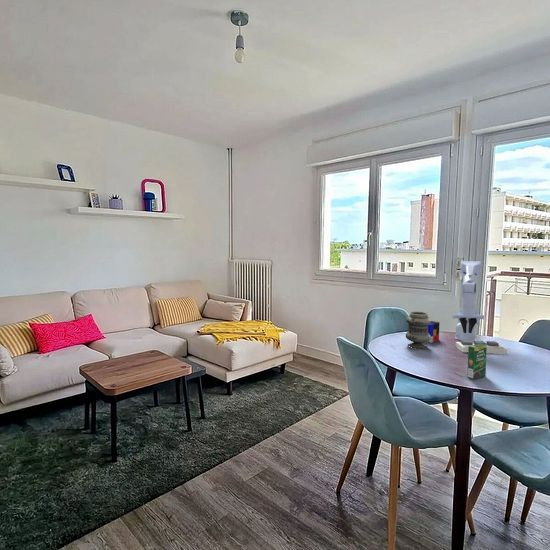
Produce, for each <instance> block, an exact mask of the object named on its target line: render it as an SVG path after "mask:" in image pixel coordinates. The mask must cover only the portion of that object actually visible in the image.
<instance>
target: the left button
mask: <svg viewBox="0 0 550 550" xmlns="http://www.w3.org/2000/svg"><path fill="white" fill-rule="evenodd" d="M460 342H461V344H462V345H473V343H474V342H471V341H470V340H460Z"/></svg>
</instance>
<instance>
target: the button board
mask: <svg viewBox="0 0 550 550" xmlns="http://www.w3.org/2000/svg"><path fill="white" fill-rule="evenodd" d="M473 345H474V342H473ZM469 346H472V345H462V344H461V341H455V347H456V348H457V349H458V351H460V352H462V353H467V352H468V347H469ZM490 353H494V355H497V354H498V355H508V348H507V347H504V346H503V345H502V344H499V347H498V346H488V345H487V351H486V354H490Z"/></svg>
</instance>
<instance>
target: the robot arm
mask: <svg viewBox="0 0 550 550" xmlns="http://www.w3.org/2000/svg"><path fill="white" fill-rule="evenodd" d="M481 271H482V261H479V260H478V261H477V260H476V261H472V260H471V261H467V260H465V261H464V260H461V262H460V275H461V277H463V283H461V297H462V299H461V308H459V310H458V311H459V312H458V313H452V314H451V318H452V319H454V320H455V319H457V320H458V323H457V324H456V326H455V337H454V339H455V340H458V341H461V340H470V341H471V342H473V343H474V341H480V340H479V339H476V328H477V325H479V321H480V320H485V314H484V315H483V314H480V312H479V310H478V309H477V308H476V294H477V293H478V292H477V289H478V288H477V287H478V283H477V279H478V278H479V277H480V276H481Z"/></svg>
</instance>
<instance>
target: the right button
mask: <svg viewBox="0 0 550 550" xmlns="http://www.w3.org/2000/svg"><path fill="white" fill-rule="evenodd" d="M485 343H486V345H488V346H498V347H499V345H500V343H498V342H497V341H493V340H491V341H489V340H486V342H485Z"/></svg>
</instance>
